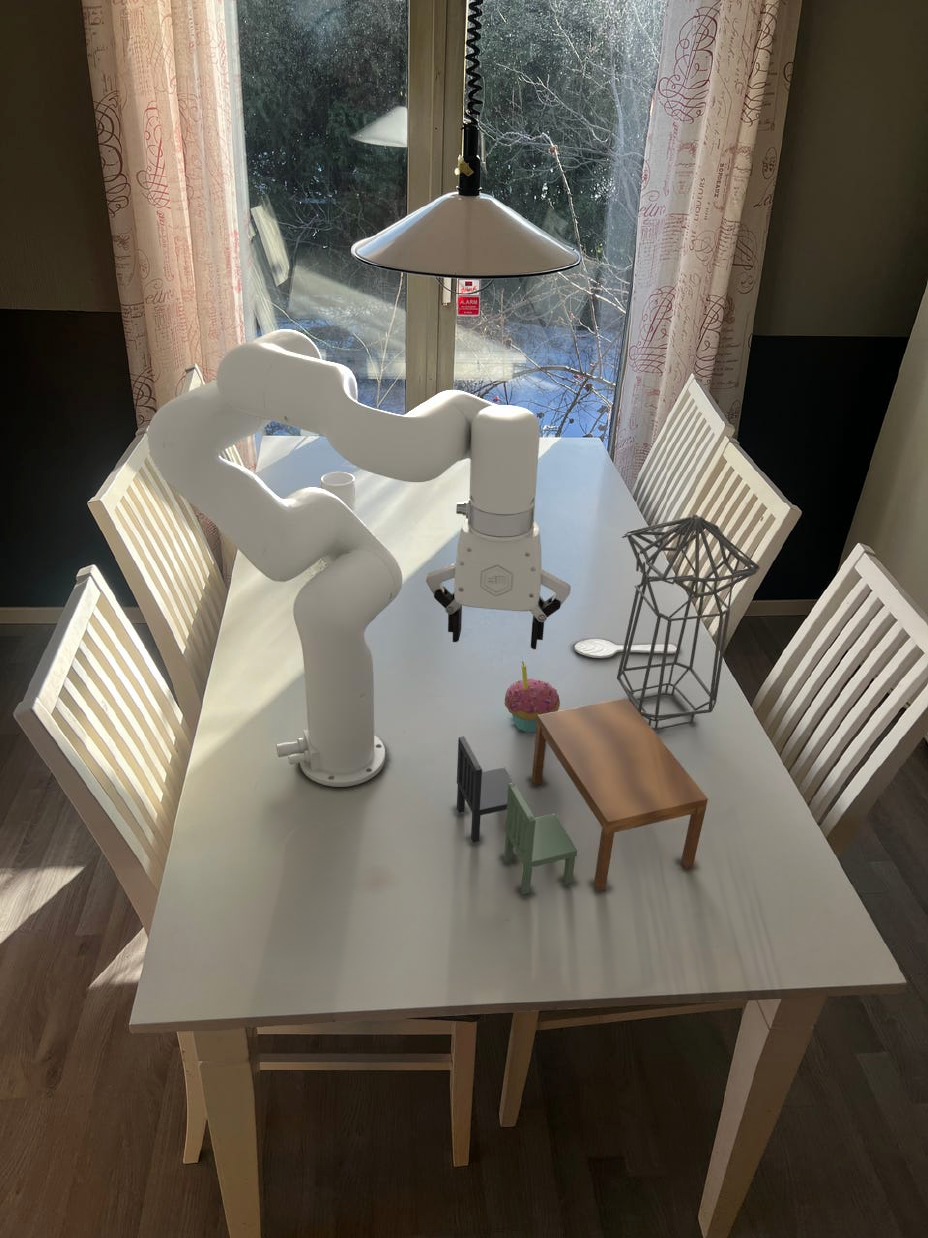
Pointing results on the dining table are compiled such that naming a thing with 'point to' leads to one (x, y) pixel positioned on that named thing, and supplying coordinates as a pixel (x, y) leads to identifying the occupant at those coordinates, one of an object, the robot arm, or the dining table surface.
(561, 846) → the sage chair
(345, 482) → the drinking glass
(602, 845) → the oak table
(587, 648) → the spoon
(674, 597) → the dining table surface
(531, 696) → the cupcake
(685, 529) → the geometric lantern
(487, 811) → the charcoal chair
